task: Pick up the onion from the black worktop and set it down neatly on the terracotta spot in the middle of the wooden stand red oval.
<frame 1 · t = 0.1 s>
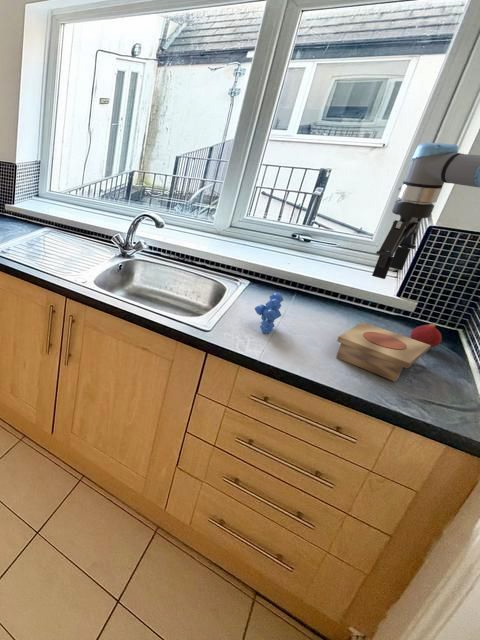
hand: (387, 272, 122), 18 cm above the countertop, tool pointing down, fingers open, 13 cm apart
grapes: (262, 329, 127), on the countertop
wooden stand red oval: (376, 360, 112), on the countertop
onion: (419, 348, 118), on the countertop
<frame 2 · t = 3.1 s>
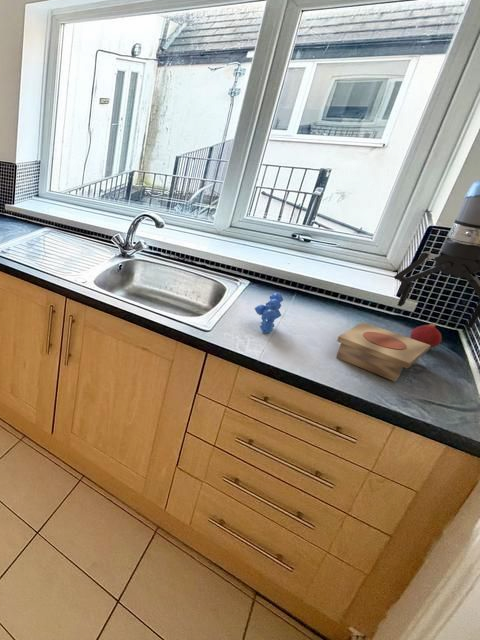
hand: (433, 315, 115), 10 cm above the countertop, tool pointing down, fingers open, 13 cm apart
nothing on the countertop moved.
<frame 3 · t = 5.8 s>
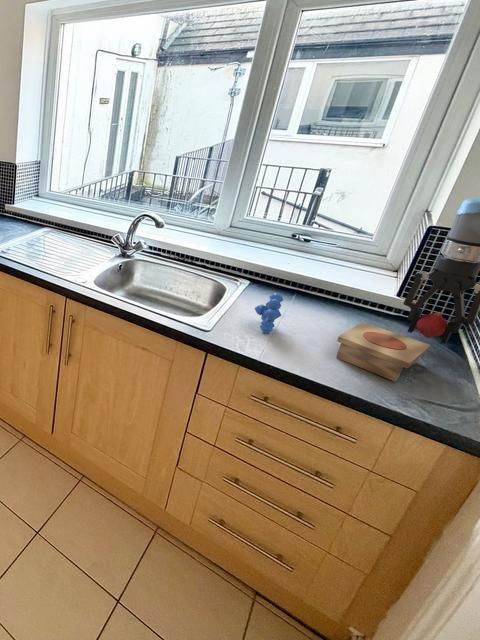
hand: (427, 336, 116), 4 cm above the countertop, tool pointing down, fingers closed on onion, 6 cm apart
onion: (425, 337, 117), point 3 cm above the countertop, touching gripper
everything else where it was.
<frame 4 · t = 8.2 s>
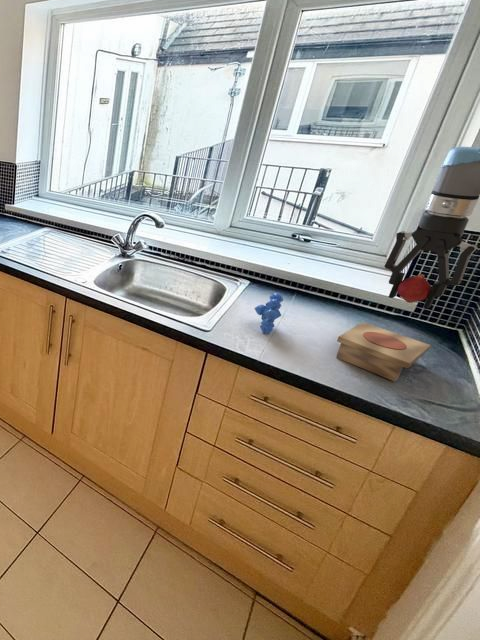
hand: (409, 301, 107), 17 cm above the countertop, tool pointing down, fingers closed on onion, 6 cm apart
onion: (407, 303, 108), point 16 cm above the countertop, touching gripper
everything else where it was.
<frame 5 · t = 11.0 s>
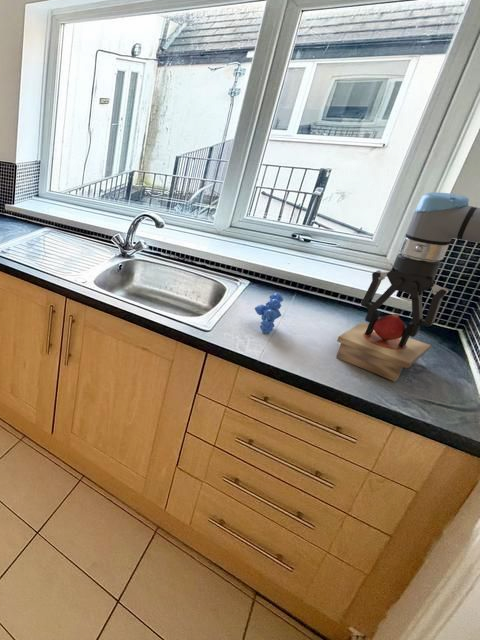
hand: (384, 339, 110), 6 cm above the countertop, tool pointing down, fingers closed on onion, 6 cm apart
onion: (383, 340, 110), point 6 cm above the countertop, touching gripper, wooden stand red oval
everything else where it was.
when the fingers open (6 cm above the countertop, at t = 11.1 s): onion stays where it is, resting on wooden stand red oval.
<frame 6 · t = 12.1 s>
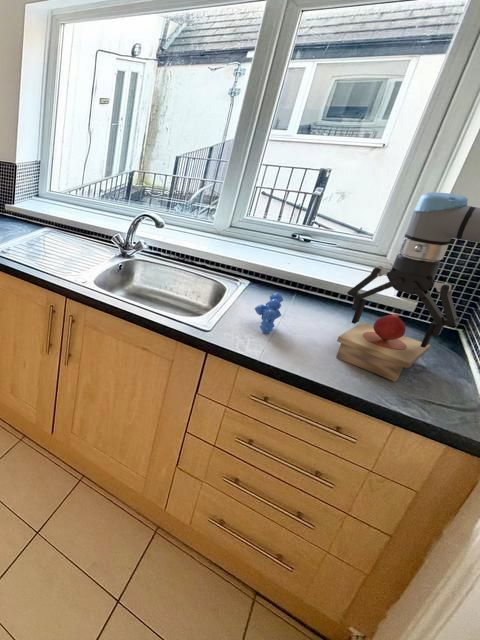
hand: (387, 333, 109), 8 cm above the countertop, tool pointing down, fingers open, 13 cm apart
onion: (383, 340, 110), point 6 cm above the countertop, touching wooden stand red oval
everything else where it was.
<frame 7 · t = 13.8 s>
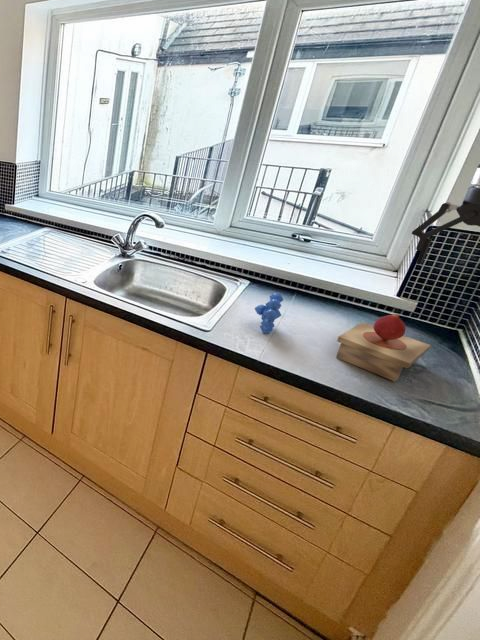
hand: (456, 271, 106), 25 cm above the countertop, tool pointing down, fingers open, 13 cm apart
nothing on the countertop moved.
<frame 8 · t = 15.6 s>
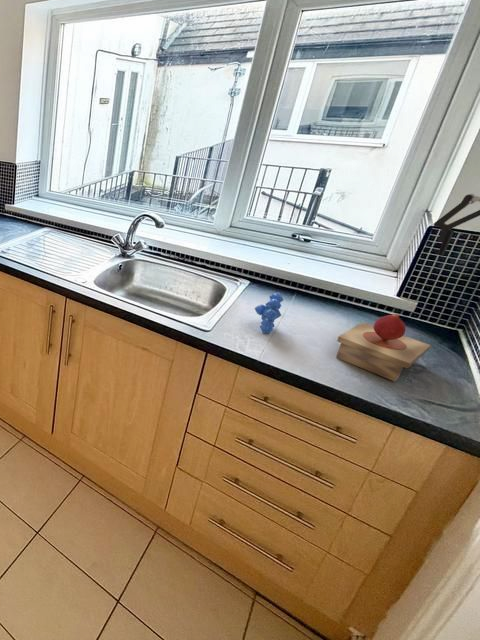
hand: (478, 262, 107), 27 cm above the countertop, tool pointing down, fingers open, 13 cm apart
nothing on the countertop moved.
at the end: onion inside the target area on the wooden stand red oval (0.1 cm from its centre), point 6.0 cm above the wooden stand red oval's base; the gripper is holding nothing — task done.
